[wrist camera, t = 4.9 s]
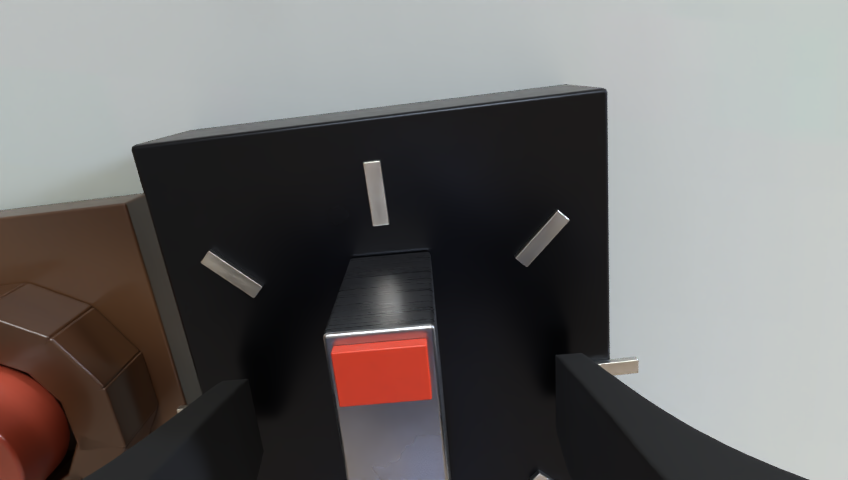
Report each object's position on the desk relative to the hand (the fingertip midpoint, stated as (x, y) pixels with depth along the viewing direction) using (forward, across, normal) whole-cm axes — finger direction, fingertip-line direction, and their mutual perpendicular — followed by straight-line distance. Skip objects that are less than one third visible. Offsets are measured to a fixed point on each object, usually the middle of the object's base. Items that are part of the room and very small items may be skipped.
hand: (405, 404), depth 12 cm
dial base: (+4, 0, 0) cm, 4 cm away
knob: (+1, 0, 0) cm, 1 cm away
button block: (+4, +10, 0) cm, 11 cm away
